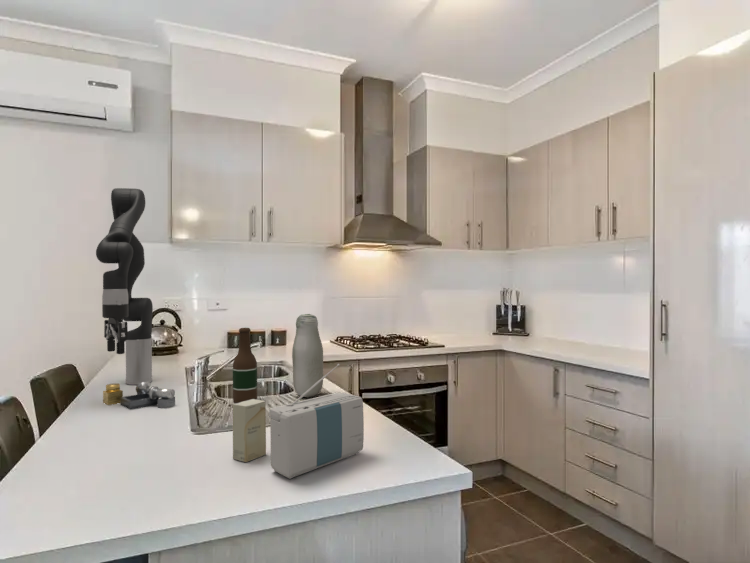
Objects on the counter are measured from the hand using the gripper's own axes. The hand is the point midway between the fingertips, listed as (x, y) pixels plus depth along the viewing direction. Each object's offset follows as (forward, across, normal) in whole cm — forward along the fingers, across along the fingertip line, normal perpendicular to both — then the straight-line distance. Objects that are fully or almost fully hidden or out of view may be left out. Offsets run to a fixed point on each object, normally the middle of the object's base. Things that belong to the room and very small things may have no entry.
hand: (115, 352), depth 157 cm
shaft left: (+16, +1, +8) cm, 18 cm away
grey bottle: (+16, +41, +47) cm, 64 cm away
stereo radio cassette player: (+17, +90, +10) cm, 92 cm away
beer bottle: (+16, +31, +29) cm, 45 cm away
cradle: (+16, +8, +4) cm, 19 cm away
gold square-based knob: (+16, -1, -1) cm, 16 cm away
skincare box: (+17, +75, +3) cm, 77 cm away
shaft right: (+16, +16, +8) cm, 24 cm away
